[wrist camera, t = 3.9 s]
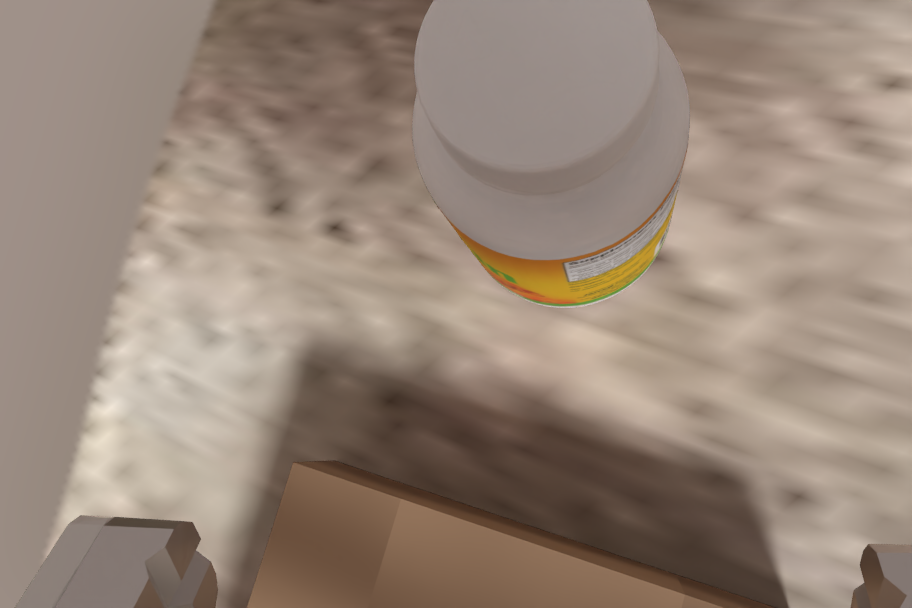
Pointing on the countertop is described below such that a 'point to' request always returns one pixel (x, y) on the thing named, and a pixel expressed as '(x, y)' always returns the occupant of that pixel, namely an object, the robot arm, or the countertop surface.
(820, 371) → the countertop surface
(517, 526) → the socket block
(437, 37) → the supplement bottle
